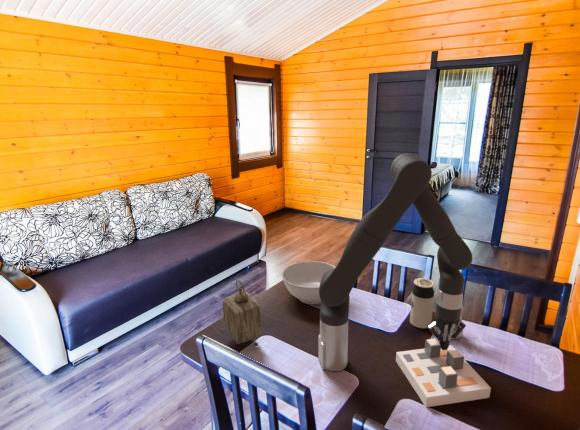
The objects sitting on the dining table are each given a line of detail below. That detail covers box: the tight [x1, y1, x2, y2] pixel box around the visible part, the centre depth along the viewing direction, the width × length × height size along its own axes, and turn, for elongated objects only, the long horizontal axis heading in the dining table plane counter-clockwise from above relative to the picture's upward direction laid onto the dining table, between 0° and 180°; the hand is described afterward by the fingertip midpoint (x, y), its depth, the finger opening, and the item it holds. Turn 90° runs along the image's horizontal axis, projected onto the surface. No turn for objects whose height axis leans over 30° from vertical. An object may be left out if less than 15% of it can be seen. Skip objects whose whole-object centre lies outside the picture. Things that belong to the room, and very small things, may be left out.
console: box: [395, 344, 492, 408], centre depth 113 cm, size 20×20×4 cm
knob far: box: [424, 338, 441, 358], centre depth 118 cm, size 4×4×5 cm
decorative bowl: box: [281, 260, 336, 305], centre depth 162 cm, size 27×27×12 cm
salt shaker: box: [451, 305, 465, 340], centre depth 132 cm, size 6×6×13 cm
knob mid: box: [446, 349, 465, 370], centre depth 112 cm, size 4×4×5 cm
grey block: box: [438, 366, 458, 388], centre depth 105 cm, size 4×4×5 cm
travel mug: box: [409, 277, 435, 329], centre depth 140 cm, size 8×8×18 cm
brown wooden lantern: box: [222, 279, 263, 347], centre depth 130 cm, size 14×9×25 cm, turn 32°
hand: (443, 348), depth 119 cm, fingers closed
